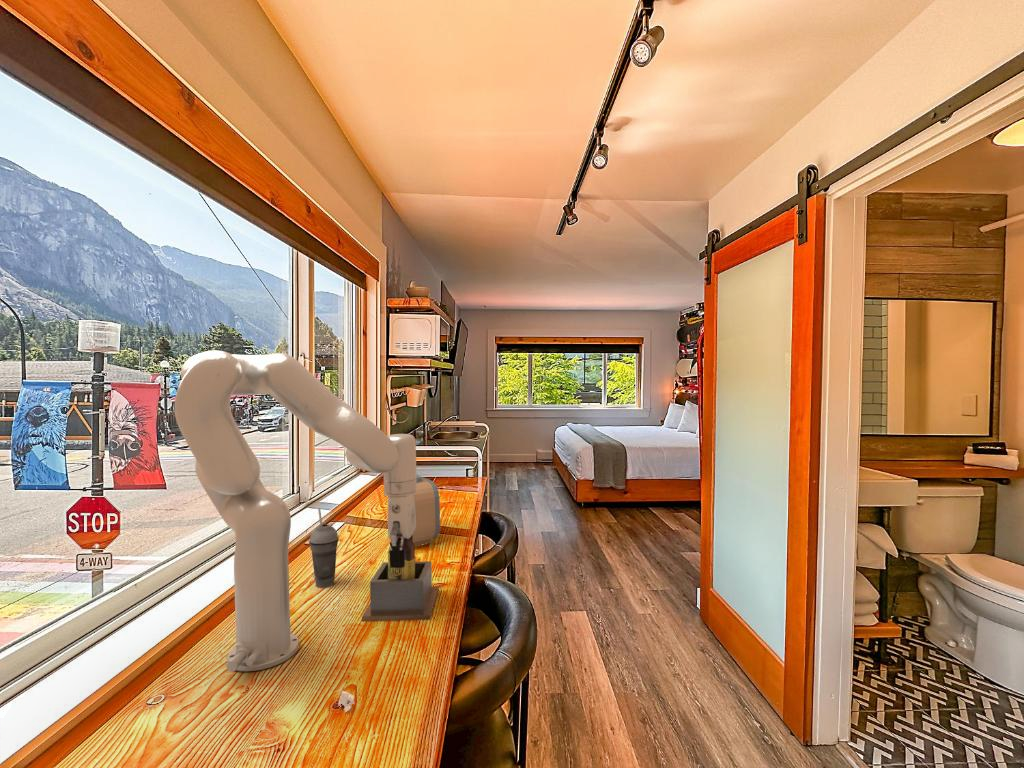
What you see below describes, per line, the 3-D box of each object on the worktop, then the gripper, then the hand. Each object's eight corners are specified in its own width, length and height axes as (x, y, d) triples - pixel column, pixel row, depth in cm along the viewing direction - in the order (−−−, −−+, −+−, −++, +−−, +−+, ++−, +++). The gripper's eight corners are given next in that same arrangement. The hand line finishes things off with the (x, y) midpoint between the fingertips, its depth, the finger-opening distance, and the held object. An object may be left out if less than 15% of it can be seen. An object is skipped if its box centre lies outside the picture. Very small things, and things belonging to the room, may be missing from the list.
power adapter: (335, 711, 82) (335, 691, 82) (348, 702, 84) (348, 683, 84) (348, 717, 80) (347, 698, 80) (361, 708, 82) (360, 689, 82)
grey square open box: (429, 619, 111) (429, 583, 111) (361, 620, 111) (361, 585, 111) (439, 590, 126) (438, 558, 126) (379, 591, 126) (378, 560, 126)
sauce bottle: (382, 601, 119) (381, 517, 118) (405, 592, 123) (403, 511, 123) (399, 609, 114) (397, 522, 114) (421, 600, 119) (419, 516, 118)
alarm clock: (441, 546, 160) (439, 478, 160) (413, 552, 155) (411, 482, 154) (415, 530, 177) (413, 469, 177) (388, 535, 172) (387, 472, 171)
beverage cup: (329, 591, 127) (328, 512, 127) (304, 589, 129) (302, 511, 128) (345, 579, 134) (343, 505, 134) (320, 577, 136) (318, 504, 136)
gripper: (409, 495, 110) (410, 573, 110) (422, 479, 127) (423, 546, 127) (374, 496, 110) (376, 574, 110) (392, 479, 127) (394, 547, 127)
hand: (401, 559), depth 119 cm, fingers open, 9 cm apart
